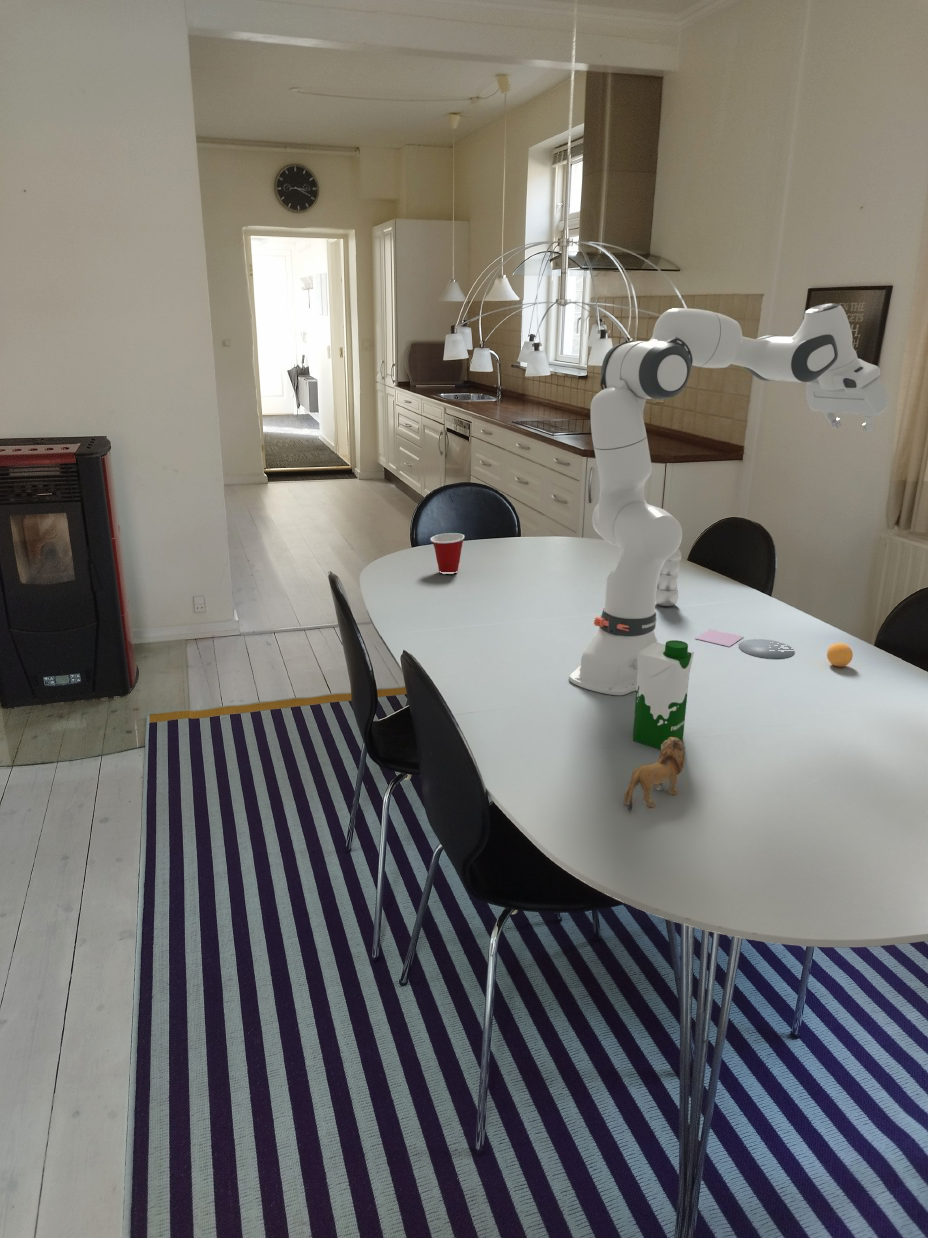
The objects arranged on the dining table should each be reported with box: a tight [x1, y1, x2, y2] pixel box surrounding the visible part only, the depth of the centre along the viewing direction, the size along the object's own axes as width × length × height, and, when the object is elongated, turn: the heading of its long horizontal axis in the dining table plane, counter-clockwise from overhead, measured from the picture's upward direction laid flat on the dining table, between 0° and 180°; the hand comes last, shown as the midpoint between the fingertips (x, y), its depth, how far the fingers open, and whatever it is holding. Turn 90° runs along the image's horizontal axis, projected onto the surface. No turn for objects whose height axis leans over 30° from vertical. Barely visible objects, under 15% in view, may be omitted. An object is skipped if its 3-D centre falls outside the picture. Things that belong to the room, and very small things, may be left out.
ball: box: [826, 642, 854, 668], centre depth 198 cm, size 6×6×6 cm
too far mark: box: [694, 628, 744, 648], centre depth 216 cm, size 9×9×1 cm
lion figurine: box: [623, 737, 686, 812], centre depth 142 cm, size 15×5×9 cm, turn 137°
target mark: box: [738, 638, 795, 660], centre depth 209 cm, size 13×13×1 cm
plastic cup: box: [430, 532, 465, 572], centre depth 271 cm, size 11×11×12 cm
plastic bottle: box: [655, 548, 682, 607], centre depth 238 cm, size 6×7×20 cm
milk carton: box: [632, 639, 695, 750], centre depth 160 cm, size 9×9×20 cm
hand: (852, 428), depth 198 cm, fingers open, 8 cm apart
